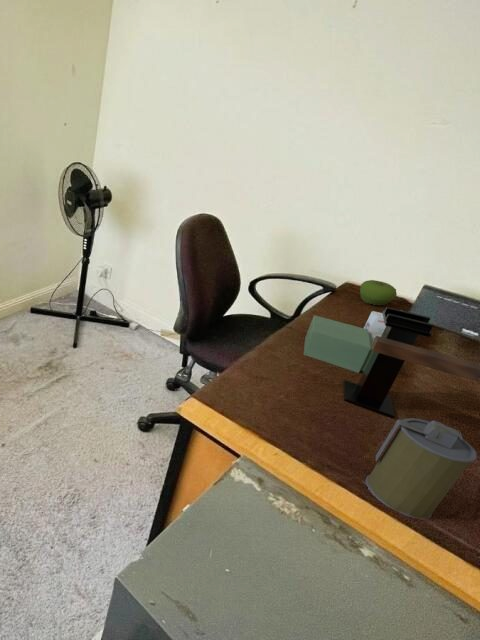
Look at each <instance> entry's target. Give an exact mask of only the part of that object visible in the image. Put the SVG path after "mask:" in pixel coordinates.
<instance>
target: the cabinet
mask: <svg viewBox="0 0 480 640" xmlns="http://www.w3.org/2000/svg"><path fill="white" fill-rule="evenodd" d="M303 348H304V349H303V356H307V357H308V358H309V357H310V358H312V359H315V360H319V361H321V362H324V363H328V364H331V365H333V366H336V367H340V368H343V369H345V370H347V371H348V370H349V371H351V372H354V373H358V374H360V372H361V371H360V369H361V367H362V365H363V363H364V361H365V359H366V357H367V355H368V353H369V351H370V348H371V346H370V340H369V333H368V330H367V329H364V327H359V326H355V325H353V324H348V323H344V322H342V321H341V322H340V321H337V320H334V319H329V318H326V317H322V316H318V315H315V314H314V315H313V317H312V320H311V322H310V324H309V327H308V329H307V332H306V334H305V337H304V346H303Z"/></svg>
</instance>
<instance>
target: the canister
mask: <svg viewBox="0 0 480 640" xmlns="http://www.w3.org/2000/svg"><path fill="white" fill-rule="evenodd" d="M395 432H396V433H395ZM394 434H395V435H394ZM383 451H384V452H383ZM380 456H381V457H380ZM374 457H375V462H376V464H375V467H374V468H373V469H372V471H371V473H370V474H368V475H367V476H366V478H365V479H366V480H365V486H366V485H367V486H366V488H367V487H368V488H367V489H368V491H369V492H370V493H371V495H373V497H375V499H377V500H378V501H379V502H380V503H382V504H383V505H384V506H386V507H387V508H390V509H391V510H393V511H395V512H397V513H399V514H401V515H404V516H406V517H410V518H413V519H418V520H419V519H420V520H426V519H429V518H431V517H432V516H433V512H434V511H435V510H436V509H437V507H438V506H439V504H440V503H441V502H442V500H443V499H445V497H446V495H447V494H448V493H449V491H450V490H451V489H452V488H453V486H454V485H455V484H456V482H457V481H458V480H459V479H460V477H461V475H463V473H464V472H465V470H466V469H467V467H468V466H469V465H470V464H471V463H472V462H475V461H476V460H477V457H478V454H477V452H476V449H475V448H474V447H473V446H472V445H471V444H470V442H468V441H467V440H465V439H464V438H463V434H462V432H461V431H460V430H458V429H455V428H453V427H450V426H448V425H445V424H443V423H442V422H439V421H437V420H434V419H433V420H430V421H429V420H425V419H421V418H414V417H408V418H404V419H397V420H396V422H395V424H394V425H393V427H392V428H391V430H390V432H389V434H388V435H387V437H386V438H385V440H384V441H383V443H382V445H381V446H380V448H379V450H378V451H377V453H376V455H375V456H374ZM377 461H378V462H377Z"/></svg>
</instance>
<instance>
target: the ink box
mask: <svg viewBox="0 0 480 640" xmlns="http://www.w3.org/2000/svg"><path fill="white" fill-rule="evenodd" d="M368 316H369V317H368V319H367V321H366V322H365V324H364V326H363V328H364V329H367V330H368V333H369V334H372V337H373V341H374V339H375V337H376V336H379V337H381V336H382V334H383V332H384V330H385V327H386V326H385V323H384V318H383V314H382V312H378V311H374V310H372V311H371V312H370V314H369V315H368Z"/></svg>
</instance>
